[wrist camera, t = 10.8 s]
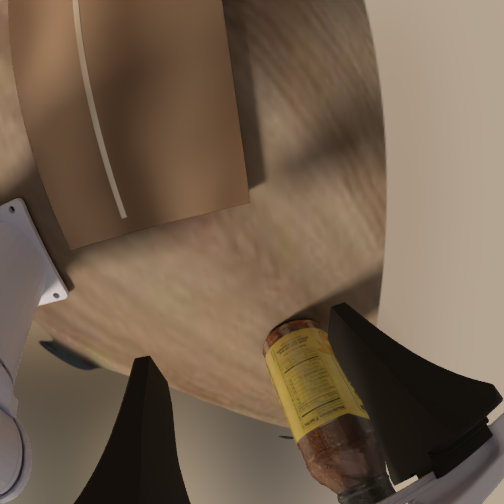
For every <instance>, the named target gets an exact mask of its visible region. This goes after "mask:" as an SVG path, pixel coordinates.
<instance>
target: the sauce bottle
mask: <svg viewBox="0 0 504 504" xmlns="http://www.w3.org/2000/svg"><path fill="white" fill-rule="evenodd" d="M327 338H328V334H327V333H326V332H325V331H323V330H322V328H321V327H320V325H319V324H318V323H317V322H315V321H313V320H310V319H307V320H294V321H291V322H288V323H285V324H283V325H281V326H280V327H277V328H276V329H275V330H274V331H272V332H271V333H269V336H268V337H267V339H266V341H265V343H264V347H263V355H264V357H265V360H266V363H267V364H266V366H267V368H268V371H269V374H270V377H271V380H272V382H273V385H274V388H275V390H276V393H277V395H278V398H279V401H280V403H281V406H282V408H283V411H284V414H285V416H286V419H287V422H288V424H289V427H290V429H291V432H292V434H293V437H294V439H295V442H296V444H297V447H298V448H299V450H301V452H302V455H303V458H304V459H305V462H306V466H307V469H308V470H309V472H310V474H311V476H312V477H313V478H314V479H315V480H317V481H318V482H319V483H320V484H321V485H324V486H326V487H328V488H329V489H331V490H332V491H333V492H335V493H336V494H337V495H338V501H339V503H341V504H375V503H377V502H379V501H381V500H383V499H385V498H387V497H389V496H391V495H393V494H395V493H396V491H395V490H394V488H393V487H392V484H391V482H390V480H389V475H388V474H387V472H386V463H385V458H384V455H383V452H382V449H381V446H380V443H379V441H378V438H377V435H376V433H375V430H374V428H373V425H372V423H371V421H370V418H369V416H368V414H367V412H366V409H365V407H364V405H363V403H362V401H361V400H360V398H359V396H358V395H357V393H356V391H355V390H354V388H353V386H352V384H351V383H350V381H349V379H348V378H347V376H346V374H345V373H344V371H343V369H342V368H341V366H340V364H339V363H338V361H337V359H336V357H335V355H334V352H333V350H332V348H331V346H330V343H329V341H328V339H327Z"/></svg>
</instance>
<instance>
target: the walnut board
mask: <svg viewBox="0 0 504 504" xmlns="http://www.w3.org/2000/svg"><path fill="white" fill-rule="evenodd" d="M8 13H9V33H10V45H11V55H12V63H13V70H14V76H15V82H16V88H17V93H18V98H19V103H20V107H21V112H22V116H23V120H24V124H25V128H26V132H27V136H28V139H29V143H30V146H31V150H32V153H33V156H34V159H35V162H36V165H37V168H38V171H39V174H40V177H41V180H42V183H43V186H44V188H45V191H46V194H47V196H48V199H49V201H50V204H51V206H52V209H53V211H54V214H55V216H56V219H57V221H58V223H59V226H60V228H61V230H62V232H63V235H64V237H65V239H66V241H67V243H68V245H69V247H70V250H74V249H77V248H80V247H84V246H87V245H90V244H94V243H97V242H100V241H104V240H107V239H111V238H114V237H118V236H121V235H125V234H128V233H132V232H136V231H139V230H143V229H147V228H150V227H154V226H158V225H162V224H165V223H169V222H173V221H177V220H181V219H185V218H189V217H193V216H197V215H201V214H205V213H209V212H213V211H218V210H222V209H226V208H230V207H235V206H239V205H244V204H248V203H250V197H249V189H248V182H247V175H246V167H245V160H244V153H243V146H242V138H241V131H240V124H239V117H238V110H237V103H236V96H235V89H234V81H233V74H232V67H231V60H230V53H229V46H228V40H227V33H226V26H225V19H224V12H223V5H222V0H8Z"/></svg>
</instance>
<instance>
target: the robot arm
mask: <svg viewBox="0 0 504 504" xmlns="http://www.w3.org/2000/svg"><path fill="white" fill-rule="evenodd" d="M11 206H12V207H14V209H15V211H13V210H12V209H11ZM55 293H57V294H59V295H57V294H55ZM68 294H69V291H68V289H67V287H66V286H65V284H64V282H63V280H62V279H61V277H60V275H59V273H58V271H57V270H56V268H55V266H54V264H53V262H52V260H51V258H50V256H49V255H48V253H47V251H46V249H45V247H44V245H43V243H42V240H41V238H40V236H39V234H38V232H37V230H36V228H35V225H34V223H33V221H32V219H31V216H30V214H29V212H28V209H27V207H26V205H25V202H24V201H23V200H22V199H21V198H16V199H14V200H11V201H9V202H7V203H5V204H3V205H1V206H0V504H4V503H5V502H7V501H10V500H12V499H14V498H16V497H17V496H18V495H19V494H20V493H21V492H22V490H23V489H24V488H25V486H26V484H27V482H28V479H29V476H30V472H31V464H32V455H31V447H30V442H29V439H28V436H27V434H26V431H25V429H24V427H23V426H22V425H21V423H20V422H19V421H18V419H17V418H16V412H17V406H18V400H17V399H16V398H15V397H14V395H13V387H14V382H15V378H16V373H17V370H18V366H19V363H20V359H21V355H22V352H23V349H24V345H25V342H26V339H27V336H28V333H29V330H30V327H31V324H32V321H33V318H34V315H35V313H36V310H37V307H38V306H39V305H43V304H47V303H51V302H55V301H59V300H63V299H66V298H67V297H68ZM327 339H328V341H329V343H330V346H331V348H332V350H333V352H334V355H335V357H336V359H337V361H338V363H339V364H340V366H341V368H342V369H343V371H344V373H345V374H346V376H347V378H348V379H349V381H350V383H351V384H352V386H353V388H354V390H355V391H356V393H357V395H358V396H359V398H360V400H361V401H362V403H363V405H364V407H365V409H366V412H367V414H368V416H369V418H370V421H371V423H372V425H373V428H374V430H375V433H376V435H377V438H378V441H379V443H380V446H381V449H382V452H383V455H384V458H385V461H386V464H387V468H388V471H389V474H390V479H391V480H392V482H393V484H394V485H397V484H399V483H401V482H403V481H405V480H407V479H409V478H411V477H413V476H414V475H417V477H418V480H417V481H415V482H414V483H412V484H410V485H409V486H407V487H405V488H404V489H402V490H400V491H398V492H396V493H395V494H393V495H391V496H389V497H387V498H385V499H383V500H381V501H379V502H377V503H375V504H405V503H407V502H408V504H482V503H483V502H484V501H485V499H486V498H487V497H488V496H489V495H490V494H491V493H492V492H493V490H494V489H495V488H496V487H497V486H498V484H499V483H500V482H501V481H502V479H503V478H504V413H503V414H502V415H500V416H499V417H498V418H497V419H496V420H495V421H494V422H493V423H492V424H490V425H488V426H487V423H488V422H489V420H488V418H487V417H486V416H487V415H488V414H489V413H490V412H491V411H492V410H494V409H495V408H496V407H497V406H498V405H499V404H500V403H501V402H502V400H503V398H502V396H501V395H500V394H499V392H498V391H497V389H496V388H495V386H494V385H493V384H490V383H485V382H482V381H478V380H474V379H471V378H467V377H465V376H462V375H459V374H456V373H454V372H451V371H449V370H446V369H444V368H442V367H439V366H437V365H435V364H433V363H431V362H429V361H427V360H426V359H424V358H422V357H420V356H418V355H416V354H415V353H413V352H411V351H410V350H408V349H407V348H405V347H404V346H402V345H401V344H399V343H398V342H396V341H394V340H393V339H392V338H390V337H389V336H387V335H386V334H385V333H383V332H382V331H380V330H379V329H378V328H377V327H375V326H374V325H373V324H371V323H370V322H369V321H368V320H366V319H365V318H364V317H362V316H361V315H360V314H359V313H357V312H356V311H355V310H354V309H352V308H351V307H350V306H349V305H347V304H346V303H345V302H344V303H341V304H338V305H335V306H333V307H331V311H330V321H329V330H328V338H327ZM74 504H191V503H190V501H189V498H188V495H187V492H186V488H185V485H184V481H183V478H182V474H181V470H180V467H179V462H178V457H177V450H176V441H175V431H174V421H173V410H172V402H171V397H170V392H169V387H168V382H167V381H166V379H165V378H164V376H163V375H162V373H161V372H160V370H159V369H158V367H157V366H156V364H155V363H154V361H153V360H152V358H151V357H150V356H145V357H140V358H135V360H134V362H133V366H132V370H131V373H130V377H129V381H128V384H127V387H126V391H125V394H124V397H123V401H122V404H121V407H120V410H119V413H118V416H117V419H116V422H115V424H114V427H113V430H112V433H111V435H110V438H109V441H108V443H107V445H106V447H105V450H104V452H103V454H102V456H101V459H100V460H99V463H98V465H97V467H96V468H95V471H94V472H93V474H92V476H91V478H90V479H89V481H88V483H87V484H86V486H85V488H84V489H83V491H82V493H81V495H80V496H79V497H78V498H77V500H76V501H75V503H74Z"/></svg>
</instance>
